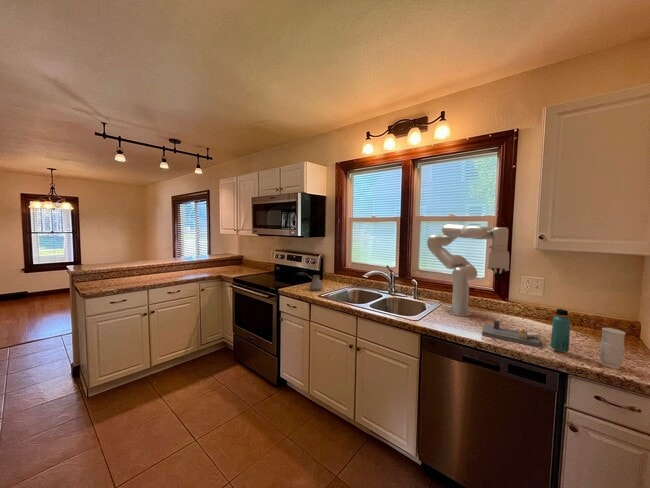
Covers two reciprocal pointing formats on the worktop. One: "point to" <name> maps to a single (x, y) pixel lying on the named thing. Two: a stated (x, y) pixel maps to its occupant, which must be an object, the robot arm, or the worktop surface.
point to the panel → (509, 335)
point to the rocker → (532, 334)
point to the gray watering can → (315, 283)
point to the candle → (612, 348)
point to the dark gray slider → (496, 324)
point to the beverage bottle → (561, 331)
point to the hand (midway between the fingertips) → (497, 279)
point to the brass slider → (522, 333)
